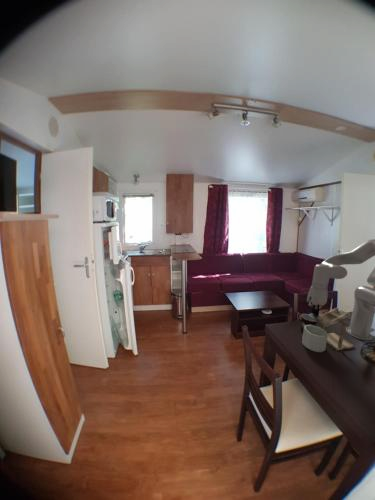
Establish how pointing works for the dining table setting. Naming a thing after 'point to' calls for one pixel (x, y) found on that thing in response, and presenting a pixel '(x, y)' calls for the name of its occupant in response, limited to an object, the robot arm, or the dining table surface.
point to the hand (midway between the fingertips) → (315, 314)
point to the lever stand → (338, 338)
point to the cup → (314, 338)
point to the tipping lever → (331, 317)
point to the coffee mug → (306, 321)
